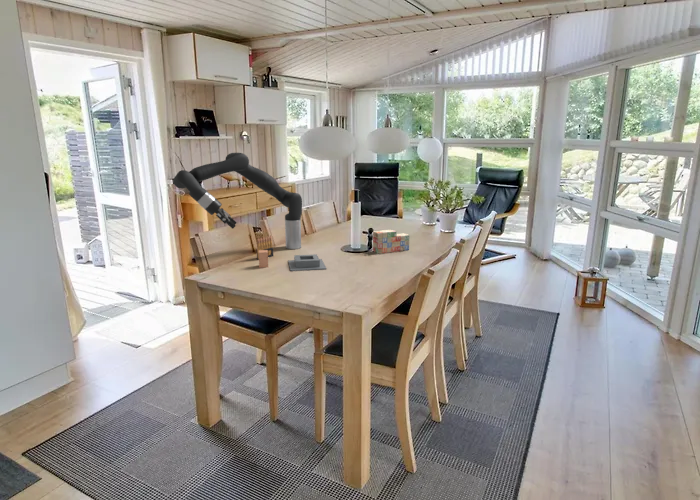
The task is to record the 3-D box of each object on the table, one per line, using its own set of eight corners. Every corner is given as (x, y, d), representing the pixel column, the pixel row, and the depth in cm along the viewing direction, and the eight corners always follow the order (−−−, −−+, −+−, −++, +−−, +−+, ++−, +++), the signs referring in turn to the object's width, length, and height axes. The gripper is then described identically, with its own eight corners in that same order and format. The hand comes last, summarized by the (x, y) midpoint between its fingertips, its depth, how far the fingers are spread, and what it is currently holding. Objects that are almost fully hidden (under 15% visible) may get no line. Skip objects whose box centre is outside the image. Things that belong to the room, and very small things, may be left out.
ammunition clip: (259, 260, 240) (258, 238, 237) (256, 259, 241) (255, 238, 238) (273, 256, 248) (272, 235, 245) (271, 255, 249) (270, 234, 246)
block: (259, 265, 230) (258, 250, 228) (268, 264, 230) (267, 250, 228) (259, 267, 225) (258, 252, 223) (268, 267, 226) (267, 252, 224)
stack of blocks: (403, 248, 269) (404, 228, 266) (409, 250, 264) (410, 230, 261) (372, 251, 260) (372, 230, 258) (377, 253, 255) (378, 233, 252)
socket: (288, 261, 237) (288, 254, 236) (321, 260, 240) (321, 252, 239) (290, 271, 220) (290, 263, 219) (326, 269, 223) (326, 261, 222)
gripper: (213, 199, 210) (239, 222, 214) (216, 196, 223) (240, 218, 228) (202, 211, 210) (228, 234, 215) (206, 206, 223) (230, 228, 228)
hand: (234, 225), depth 221 cm, fingers open, 8 cm apart
